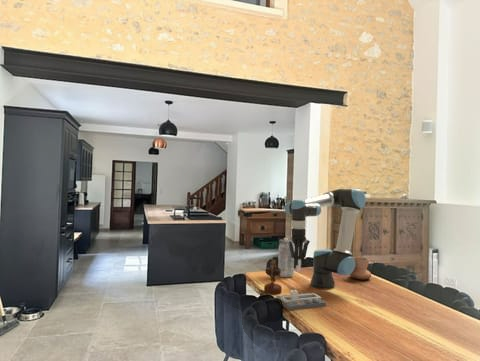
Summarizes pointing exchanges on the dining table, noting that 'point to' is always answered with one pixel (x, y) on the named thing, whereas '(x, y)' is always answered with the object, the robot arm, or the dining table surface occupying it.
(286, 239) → the grey canister
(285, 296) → the console
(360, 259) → the ceramic jug
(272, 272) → the brown rounded tall piece
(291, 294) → the fader
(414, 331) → the dining table surface
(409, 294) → the dining table surface
